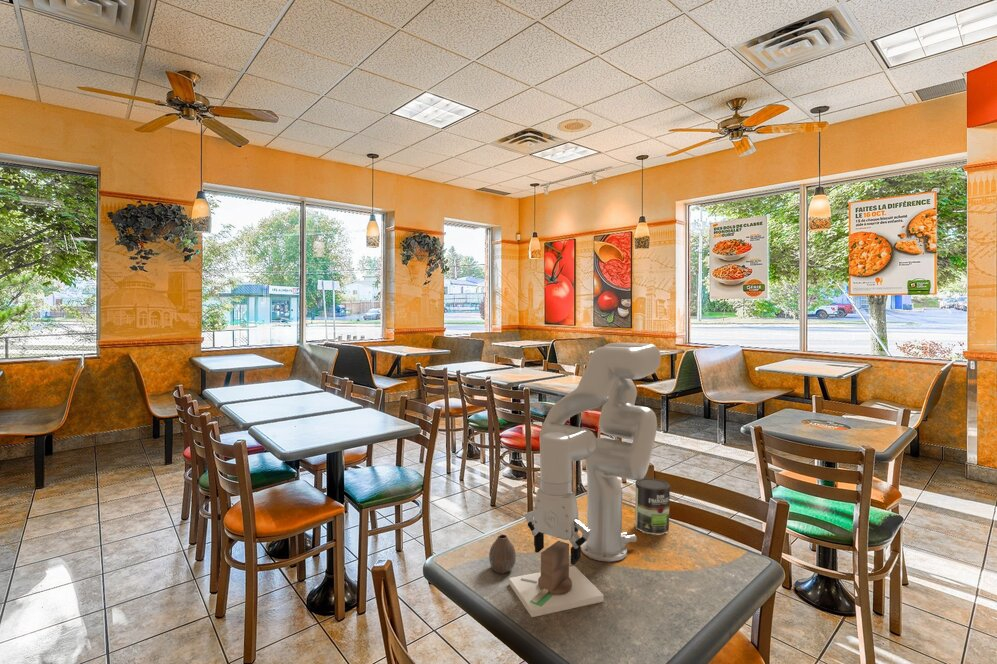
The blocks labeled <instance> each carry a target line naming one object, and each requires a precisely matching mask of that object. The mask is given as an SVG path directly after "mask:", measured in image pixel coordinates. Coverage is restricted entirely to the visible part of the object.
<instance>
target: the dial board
mask: <svg viewBox="0 0 997 664" xmlns="http://www.w3.org/2000/svg"><path fill="white" fill-rule="evenodd" d="M540 576H541V571H539V572H534V573H529V574H522V575H519V576H518V575H517V576H514V577H508V578H509V579H508V580H509V581H508V585H509V586H510V588H511V589H512V590H513V592H514V594H516V596H517V598H518V599H519V601H520V602H521V603H522V605H523V606H524V608H525V610H526V611H527V612H528V614H529V616H530V617H531V618H534V617H535V618H536V617H539V616H544V615H545V616H546V615H548V614H549V615H550V614H554V613H559V612H562V611H567V610H571V609H574V608H575V609H576V608H580V607H585V606H589V605H594V604H600V603H604V602H605V601H604V597H605V595H604V594H603V593H602V592H601V591H600V590H599V588H598V587H596V586H595V585H594V583H592V581H590V580H589V578H587V577H586V576H585V575H584V574H583V572H581V571H580V570H579V568H578V567H576V565H571V566H569V578H570V579H571V581H572V588H571V590H570V591H568V592H567V593H564V594H550V593H547V594H546V595H545V596H543V597H542V598H541V599H540V600H539V601H538V602H534V601H533V598H534V597H535V596H536V595H537V594H538V593H540V592H541V591H542V590H541V589H540V587H539V586H538V579H539V577H540Z"/></svg>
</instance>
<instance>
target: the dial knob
mask: <svg viewBox="0 0 997 664" xmlns="http://www.w3.org/2000/svg"><path fill="white" fill-rule="evenodd" d="M569 567H570V543H567V542H564V541H562V540H557V541H556V542H554V543H553V544H552V545H550V546H548V547H546V549H544V550H543V551H542V552H540V572H541V576H540V577H539V579H538V586H539V587H540V589H541V590H542V591H541V592H540V593H538V594H537V595H536V596H535V597H534V598H533V601H534V602H538V601H539V600H540V599H541V598H542V597H543V596H545V595H546V594H547V593H550V594H564V593H567V592H568V591H570V590H571V588H572V581H571V579H570V578H569Z"/></svg>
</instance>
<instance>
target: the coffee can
mask: <svg viewBox="0 0 997 664" xmlns="http://www.w3.org/2000/svg"><path fill="white" fill-rule="evenodd" d="M670 492H671V485H670V483H668V482H667V481H665V480H662V479H659V478H653V477H652V478H651V477H650V478H649V477H648V478H647V477H644V478H643V479H641V480H635V508H634V510H635V511H634V512H635V516H634V517H635V518H634V528H635V527H636V528H635V530H637V529H638V530H640V531H642V532H644V533H643V534H645V533H647V534H646V535H648V534H664V533H666V532H668V531H669V532H670V495H671V493H670ZM638 530H637V531H638ZM640 531H639V532H640ZM642 532H641V533H642ZM669 532H668V533H669Z"/></svg>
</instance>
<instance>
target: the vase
mask: <svg viewBox="0 0 997 664" xmlns="http://www.w3.org/2000/svg"><path fill="white" fill-rule="evenodd" d="M516 554H517V552H516V549H515V546H514V544H513V543H512V542H511V541H510V540H509V538H508V536H507V534H499V535H498V536H497V538H496V540H495V541H494V542H493V543H492V544H491V546H490V549H489V554H488V556H489V557H488V561H489V564H490V567H491V569H493V570H494V571H495V572H496V573H498V574H508V573H509V572H510V571H512V570H513V568H514V567H515V564H516V558H517V555H516Z"/></svg>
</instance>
